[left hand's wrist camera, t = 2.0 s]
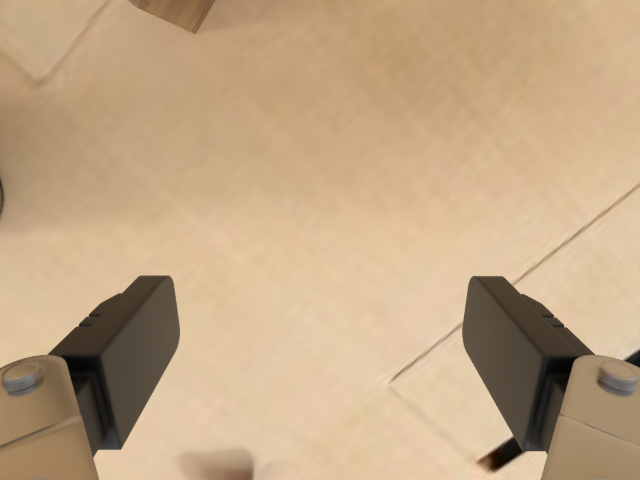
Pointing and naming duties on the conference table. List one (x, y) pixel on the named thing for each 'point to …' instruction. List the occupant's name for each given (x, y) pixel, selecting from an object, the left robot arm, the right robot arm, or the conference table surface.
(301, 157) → the conference table surface
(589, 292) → the conference table surface
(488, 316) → the left robot arm
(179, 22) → the cabinet
